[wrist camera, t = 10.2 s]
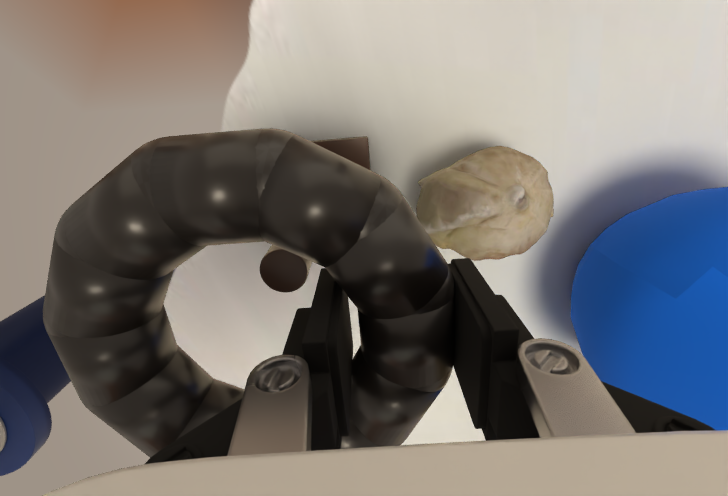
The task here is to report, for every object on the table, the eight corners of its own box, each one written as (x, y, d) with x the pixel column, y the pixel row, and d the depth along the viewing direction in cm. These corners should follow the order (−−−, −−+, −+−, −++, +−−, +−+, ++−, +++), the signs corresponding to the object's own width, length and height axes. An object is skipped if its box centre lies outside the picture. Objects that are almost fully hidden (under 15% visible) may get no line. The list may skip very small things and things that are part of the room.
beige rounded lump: (410, 201, 31) (374, 237, 23) (466, 112, 27) (448, 114, 19) (502, 260, 30) (500, 322, 22) (574, 177, 26) (608, 212, 18)
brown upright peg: (281, 240, 30) (211, 355, 16) (264, 144, 27) (161, 184, 13) (374, 234, 30) (384, 344, 16) (367, 136, 27) (372, 167, 13)
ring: (156, 439, 14) (110, 513, 12) (36, 145, 10) (-80, 159, 7) (442, 424, 14) (459, 496, 11) (445, 111, 10) (473, 114, 7)
